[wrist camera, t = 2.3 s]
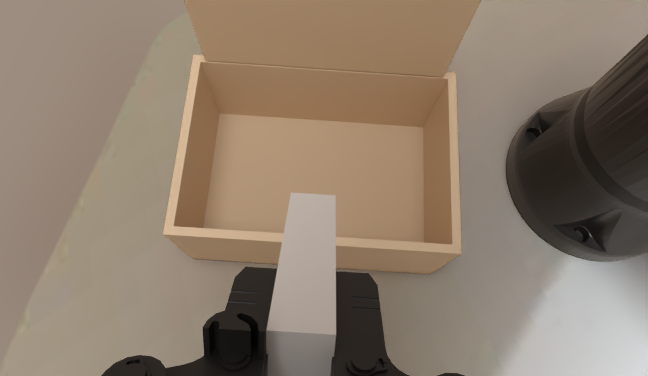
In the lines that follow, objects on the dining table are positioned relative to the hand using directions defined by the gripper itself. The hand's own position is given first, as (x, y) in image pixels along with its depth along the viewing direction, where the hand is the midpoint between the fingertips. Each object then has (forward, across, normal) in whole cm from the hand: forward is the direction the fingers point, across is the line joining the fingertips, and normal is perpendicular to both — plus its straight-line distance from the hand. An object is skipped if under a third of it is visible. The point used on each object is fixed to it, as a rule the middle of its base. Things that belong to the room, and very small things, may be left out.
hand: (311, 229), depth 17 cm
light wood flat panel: (+23, 0, +1) cm, 23 cm away
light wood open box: (+24, 0, -10) cm, 27 cm away
